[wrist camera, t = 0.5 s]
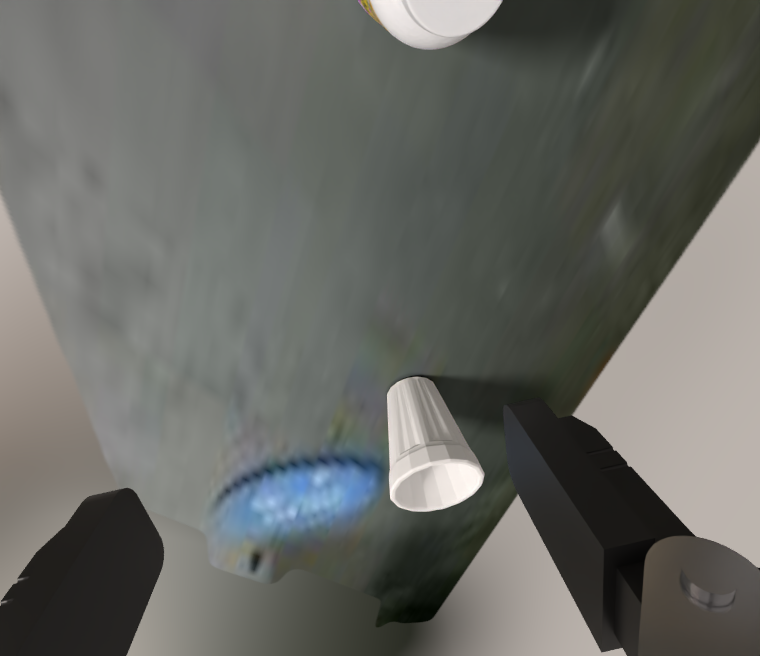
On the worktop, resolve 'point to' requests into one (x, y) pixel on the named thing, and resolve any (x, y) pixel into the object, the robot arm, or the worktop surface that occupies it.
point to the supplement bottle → (431, 19)
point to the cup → (427, 450)
